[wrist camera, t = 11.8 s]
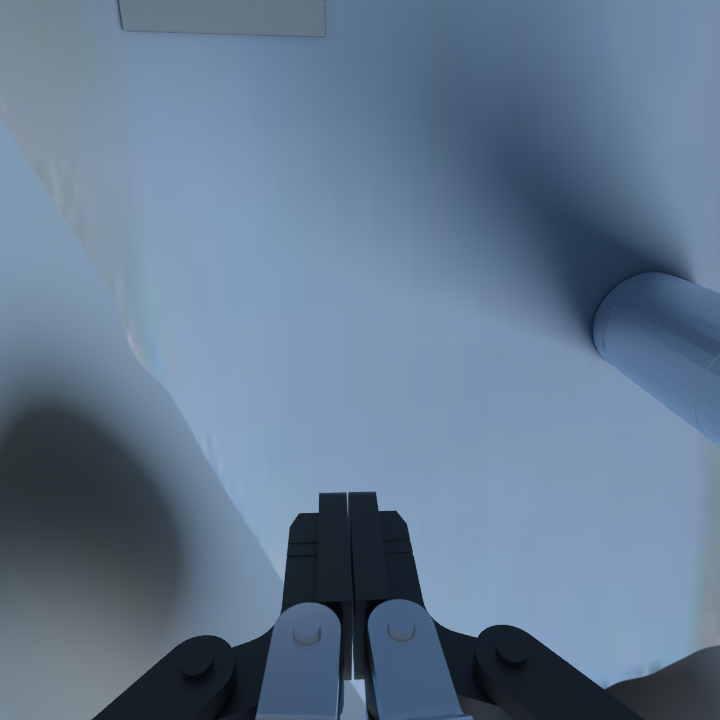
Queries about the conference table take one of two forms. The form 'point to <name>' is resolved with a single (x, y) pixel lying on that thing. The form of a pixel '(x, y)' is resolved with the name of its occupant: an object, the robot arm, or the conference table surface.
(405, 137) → the conference table surface
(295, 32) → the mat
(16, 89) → the conference table surface
